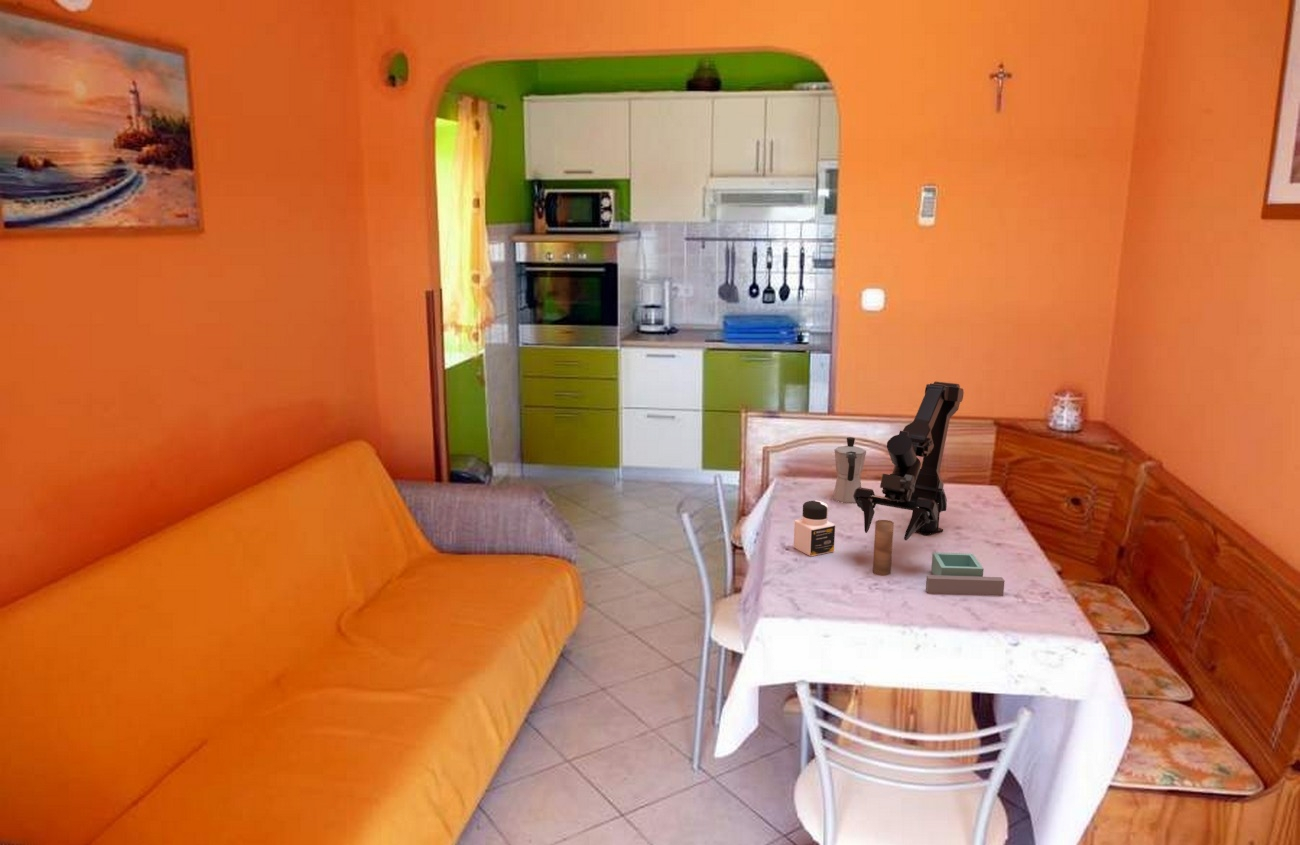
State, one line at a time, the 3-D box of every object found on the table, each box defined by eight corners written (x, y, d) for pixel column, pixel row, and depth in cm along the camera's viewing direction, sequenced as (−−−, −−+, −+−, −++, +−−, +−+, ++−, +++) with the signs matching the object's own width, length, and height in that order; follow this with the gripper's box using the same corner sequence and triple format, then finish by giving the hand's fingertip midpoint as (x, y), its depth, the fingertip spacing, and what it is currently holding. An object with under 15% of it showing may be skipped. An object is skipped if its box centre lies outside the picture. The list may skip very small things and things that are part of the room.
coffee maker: (830, 491, 275) (833, 431, 271) (861, 492, 274) (865, 432, 269) (833, 507, 260) (836, 444, 256) (865, 509, 259) (869, 446, 255)
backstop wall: (925, 589, 206) (926, 574, 205) (1000, 592, 205) (1001, 577, 204) (927, 593, 204) (928, 578, 203) (1003, 596, 203) (1004, 580, 202)
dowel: (881, 567, 218) (884, 518, 215) (894, 573, 215) (897, 523, 212) (868, 571, 216) (871, 521, 213) (881, 577, 213) (884, 526, 210)
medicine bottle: (810, 557, 224) (812, 509, 222) (792, 547, 231) (794, 500, 228) (834, 552, 228) (836, 504, 225) (816, 542, 234) (818, 496, 231)
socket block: (931, 571, 216) (932, 552, 215) (971, 572, 215) (972, 553, 214) (940, 586, 207) (941, 567, 206) (981, 588, 206) (983, 568, 205)
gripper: (858, 453, 220) (838, 511, 213) (938, 465, 210) (920, 526, 203) (868, 478, 228) (849, 534, 221) (945, 491, 218) (928, 550, 211)
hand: (885, 535), depth 214 cm, fingers open, 9 cm apart
